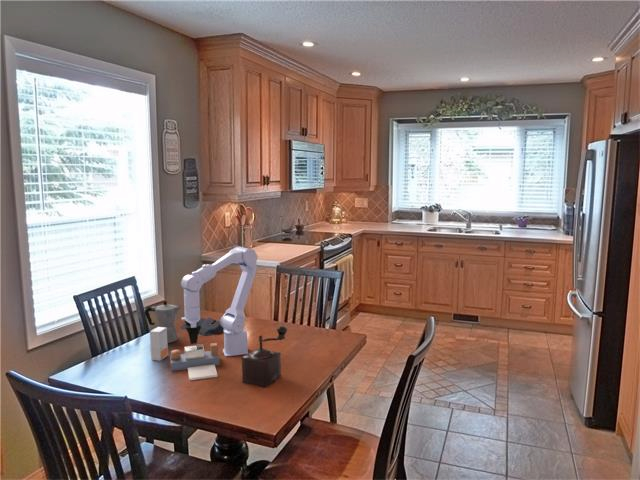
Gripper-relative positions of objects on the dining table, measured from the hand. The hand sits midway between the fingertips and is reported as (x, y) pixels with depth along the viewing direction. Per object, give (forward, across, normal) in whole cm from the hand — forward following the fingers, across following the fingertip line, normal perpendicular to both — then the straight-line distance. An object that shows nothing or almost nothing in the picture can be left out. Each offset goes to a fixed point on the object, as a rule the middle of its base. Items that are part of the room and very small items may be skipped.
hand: (193, 340), depth 188 cm
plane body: (+10, 0, 0) cm, 10 cm away
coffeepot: (+10, -32, -11) cm, 35 cm away
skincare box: (+10, -11, -13) cm, 19 cm away
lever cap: (+7, 0, 0) cm, 7 cm away
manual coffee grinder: (+10, +21, +24) cm, 34 cm away
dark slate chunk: (+10, -43, +8) cm, 45 cm away
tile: (+10, +10, +2) cm, 14 cm away
